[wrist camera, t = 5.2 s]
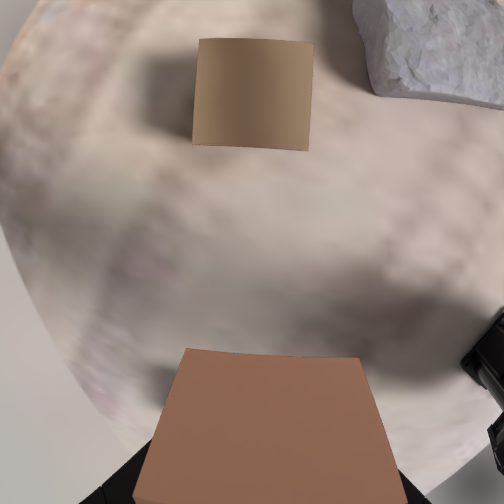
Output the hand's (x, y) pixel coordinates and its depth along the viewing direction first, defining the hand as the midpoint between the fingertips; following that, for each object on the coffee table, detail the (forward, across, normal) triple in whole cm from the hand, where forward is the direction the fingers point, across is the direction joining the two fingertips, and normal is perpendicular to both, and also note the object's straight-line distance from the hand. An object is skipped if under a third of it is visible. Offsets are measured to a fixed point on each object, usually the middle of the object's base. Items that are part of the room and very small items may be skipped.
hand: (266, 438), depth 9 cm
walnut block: (+13, +1, -10) cm, 16 cm away
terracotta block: (+1, 0, 0) cm, 1 cm away
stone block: (+13, -10, -17) cm, 24 cm away
